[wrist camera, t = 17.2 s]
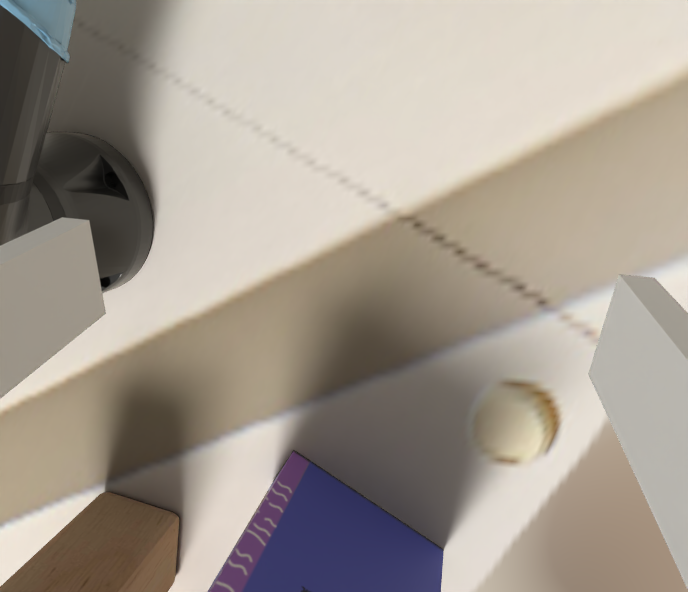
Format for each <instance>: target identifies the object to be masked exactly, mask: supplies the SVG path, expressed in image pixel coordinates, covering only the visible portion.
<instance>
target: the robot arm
mask: <svg viewBox="0 0 688 592" xmlns="http://www.w3.org/2000/svg"><path fill="white" fill-rule="evenodd" d="M75 11H76V0H0V398H2V397H3V396H4V395H5V394H7V393H8V392H9V391H10V390H12V389H13V388H14V387H15V386H17V385H18V384H19V383H20V382H21V381H23V380H24V379H25V378H26V377H28V376H29V375H30V374H31V373H33V372H34V371H35V370H36V369H38V368H39V367H40V366H41V365H43V364H44V363H45V362H46V361H47V360H49V359H50V358H51V357H52V356H54V355H55V354H56V353H57V352H59V351H60V350H61V349H62V348H64V347H65V346H66V345H67V344H69V343H70V342H71V341H72V340H73V339H75V338H76V337H77V336H78V335H80V334H81V333H82V332H83V331H85V330H86V329H87V328H88V327H90V326H91V325H92V324H93V323H95V322H96V321H97V320H98V319H99V318H101V317H102V316H103V315H104V314H106V312H105V306H104V301H103V295H102V293H104V292H107V291H109V290H112V289H115V288H117V287H119V286H121V285H123V284H125V283H126V282H128V281H129V280H130V279H132V278H133V277H134V276H135V275H136V274H137V272H138V271H139V270H140V269H141V267H142V266H143V264H144V262H145V260H146V258H147V255H148V253H149V250H150V246H151V242H152V234H153V220H152V211H151V206H150V202H149V199H148V196H147V193H146V190H145V188H144V186H143V183H142V181H141V180H140V178H139V176H138V174H137V173H136V171H135V170H134V168H133V167H132V166H131V164H130V163H129V162H128V161H127V160H126V159H125V158H124V157H123V155H121V154H120V153H119V152H118V151H117V150H116V149H114V148H113V147H112V146H110V145H109V144H107V143H106V142H104V141H102V140H100V139H98V138H95V137H93V136H90V135H86V134H82V133H70V132H49V133H47V129H48V125H49V121H50V118H51V114H52V110H53V106H54V103H55V99H56V95H57V91H58V88H59V84H60V80H61V76H62V72H63V69H64V65H65V62H66V63H68V62H69V59H70V55H69V53H68V51H67V50H68V45H69V40H70V35H71V30H72V25H73V20H74V16H75ZM588 374H589V377H590V379H591V381H592V383H593V385H594V387H595V390H596V392H597V394H598V396H599V398H600V400H601V403H602V405H603V407H604V409H605V411H606V413H607V416H608V418H609V420H610V422H611V424H612V426H613V428H614V431H615V433H616V435H617V437H618V439H619V442H620V444H621V446H622V448H623V450H624V452H625V455H626V457H627V459H628V461H629V463H630V466H631V467H632V470H633V472H634V474H635V476H636V479H637V481H638V483H639V485H640V487H641V489H642V492H643V494H644V496H645V498H646V500H647V502H648V505H649V507H650V509H651V511H652V513H653V515H654V518H655V520H656V522H657V524H658V526H659V528H660V531H661V533H662V535H663V537H664V539H665V541H666V544H667V546H668V548H669V550H670V552H671V554H672V557H673V559H674V561H675V562H676V565H677V568H678V570H679V572H680V574H681V576H682V578H683V580H684V583H685V585H686V587H687V589H688V313H687V312H686V311H685V310H684V309H683V308H682V307H681V306H680V304H679V303H678V302H677V301H676V300H675V299H674V298H673V297H672V296H671V295H670V294H669V293H668V292H667V291H666V290H665V288H664V287H663V286H662V285H661V284H660V283H659V282H658V281H657V280H656V279H655V278H651V277H641V276H631V275H621V274H619V276H618V280H617V283H616V286H615V289H614V293H613V296H612V299H611V302H610V306H609V309H608V312H607V315H606V318H605V322H604V325H603V328H602V331H601V335H600V338H599V341H598V344H597V348H596V351H595V354H594V357H593V361H592V364H591V367H590V370H589V373H588Z"/></svg>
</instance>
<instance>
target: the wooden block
mask: <svg viewBox="0 0 688 592" xmlns="http://www.w3.org/2000/svg"><path fill="white" fill-rule="evenodd" d="M178 532H179V518H178V516H177V515H176V514H175V513H173V512H170V511H167V510H163V509H160V508H157V507H154V506H151V505H148V504H145V503H142V502H139V501H136V500H132V499H129V498H126V497H123V496H120V495H117V494H114V493H111V492H104V493H102V494H100V495H99V496H98V497H97V498H96V499H95V500H93V501H92V502H91V503H90V504H89V505H88V506H87V507H86V508H85V509H84V510H83V511H82V512H80V513H79V514H78V515H77V516H76V517H75V518H74V519H73V520H72V521H71V522H70V523H69V524H68V525H66V526H65V527H64V528H63V529H62V530H61V531H60V532H59V533H58V534H57V535H56V536H55V537H54V538H52V539H51V540H50V541H49V542H48V543H47V544H46V545H45V546H44V547H43V548H42V549H41V550H40V551H38V552H37V553H36V554H35V555H34V556H33V557H32V558H31V559H30V560H29V561H28V562H27V563H25V564H24V565H23V566H22V567H21V568H20V569H19V570H18V571H17V572H16V573H15V574H14V575H13V576H11V577H10V578H9V579H8V580H7V581H6V582H5V583H4V584H3V585H2V586H1V587H0V592H168V590H169V589H170V587H171V586H172V584H173V583H174V580H175V573H176V559H177V546H178Z"/></svg>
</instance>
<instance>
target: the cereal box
mask: <svg viewBox="0 0 688 592" xmlns="http://www.w3.org/2000/svg"><path fill="white" fill-rule="evenodd" d="M443 551H444V549H442V548H441V547H439V546H438V545H436V544H435V543H433V542H432V541H430V540H429V539H427V538H426V537H424V536H423V535H421V534H420V533H418V532H417V531H415V530H414V529H412V528H411V527H409V526H408V525H406V524H405V523H403V522H402V521H400V520H399V519H397V518H396V517H394V516H392V515H391V514H389V513H388V512H386V511H385V510H383V509H382V508H380V507H379V506H377V505H376V504H374V503H373V502H371V501H370V500H368V499H367V498H365V497H364V496H362V495H361V494H359V493H358V492H356V491H355V490H353V489H352V488H350V487H349V486H347V485H346V484H344V483H343V482H341V481H340V480H338V479H337V478H335V477H334V476H332V475H331V474H329V473H328V472H326V471H325V470H323V469H322V468H320V467H319V466H317V465H316V464H314V463H313V462H311V461H310V460H308V459H307V458H305V457H304V456H302V455H301V454H299V453H298V452H296V451H295V450H294V451H293V452H292V454H291V456H290V457H289V459H288V460H287V462H286V463H285V465H284V466H283V468H282V469H281V471H280V472H279V474H278V475H277V477H276V478H275V480H274V482H273V483H272V485H271V486H270V488H269V490H268V491H267V493H266V495H265V496H264V498H263V500H262V502H261V503H260V505H259V507H258V508H257V510H256V512H255V513H254V515H253V517H252V518H251V520H250V522H249V523H248V525H247V527H246V528H245V530H244V532H243V533H242V535H241V537H240V538H239V540H238V542H237V543H236V545H235V547H234V548H233V550H232V552H231V553H230V555H229V557H228V558H227V560H226V562H225V563H224V565H223V567H222V568H221V570H220V572H219V573H218V575H217V577H216V578H215V580H214V582H213V583H212V585H211V587H210V589H209V590H208V592H441V579H442V565H443Z"/></svg>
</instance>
